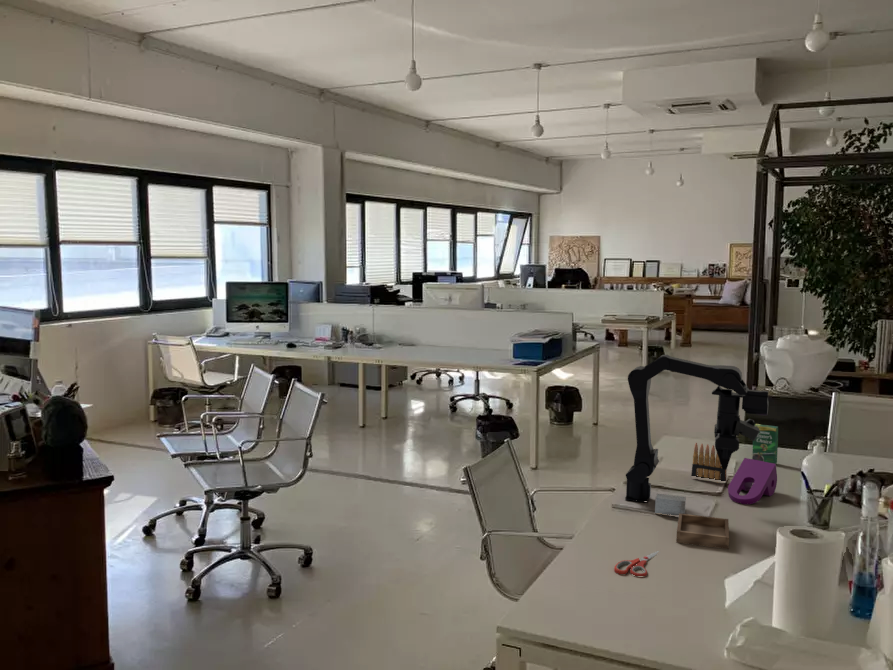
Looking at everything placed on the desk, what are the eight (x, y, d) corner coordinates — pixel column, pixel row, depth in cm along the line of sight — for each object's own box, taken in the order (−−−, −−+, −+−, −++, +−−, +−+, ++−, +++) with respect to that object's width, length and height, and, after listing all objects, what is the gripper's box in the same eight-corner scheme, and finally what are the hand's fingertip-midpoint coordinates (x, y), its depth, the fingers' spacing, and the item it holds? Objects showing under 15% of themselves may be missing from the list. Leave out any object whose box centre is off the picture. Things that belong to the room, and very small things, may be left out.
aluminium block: (654, 515, 219) (655, 497, 218) (655, 510, 223) (656, 493, 222) (684, 518, 216) (685, 501, 216) (685, 513, 220) (685, 496, 219)
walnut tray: (676, 542, 199) (676, 531, 199) (678, 523, 212) (679, 513, 211) (728, 549, 195) (729, 537, 195) (727, 529, 208) (728, 519, 207)
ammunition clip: (726, 482, 247) (728, 446, 245) (725, 484, 245) (727, 447, 244) (692, 477, 252) (694, 441, 251) (690, 478, 251) (692, 442, 249)
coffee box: (750, 461, 271) (752, 424, 269) (753, 459, 273) (755, 422, 271) (774, 465, 266) (777, 428, 264) (777, 463, 268) (779, 426, 266)
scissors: (667, 550, 195) (668, 544, 195) (643, 582, 177) (643, 576, 177) (637, 544, 199) (638, 538, 199) (610, 574, 181) (611, 568, 181)
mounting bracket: (757, 524, 228) (778, 485, 239) (754, 502, 224) (775, 463, 236) (726, 516, 234) (747, 478, 245) (722, 495, 231) (744, 457, 242)
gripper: (761, 421, 207) (756, 478, 209) (756, 406, 225) (752, 459, 227) (717, 417, 210) (712, 473, 213) (716, 403, 228) (712, 454, 230)
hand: (724, 464), depth 220 cm, fingers open, 9 cm apart
